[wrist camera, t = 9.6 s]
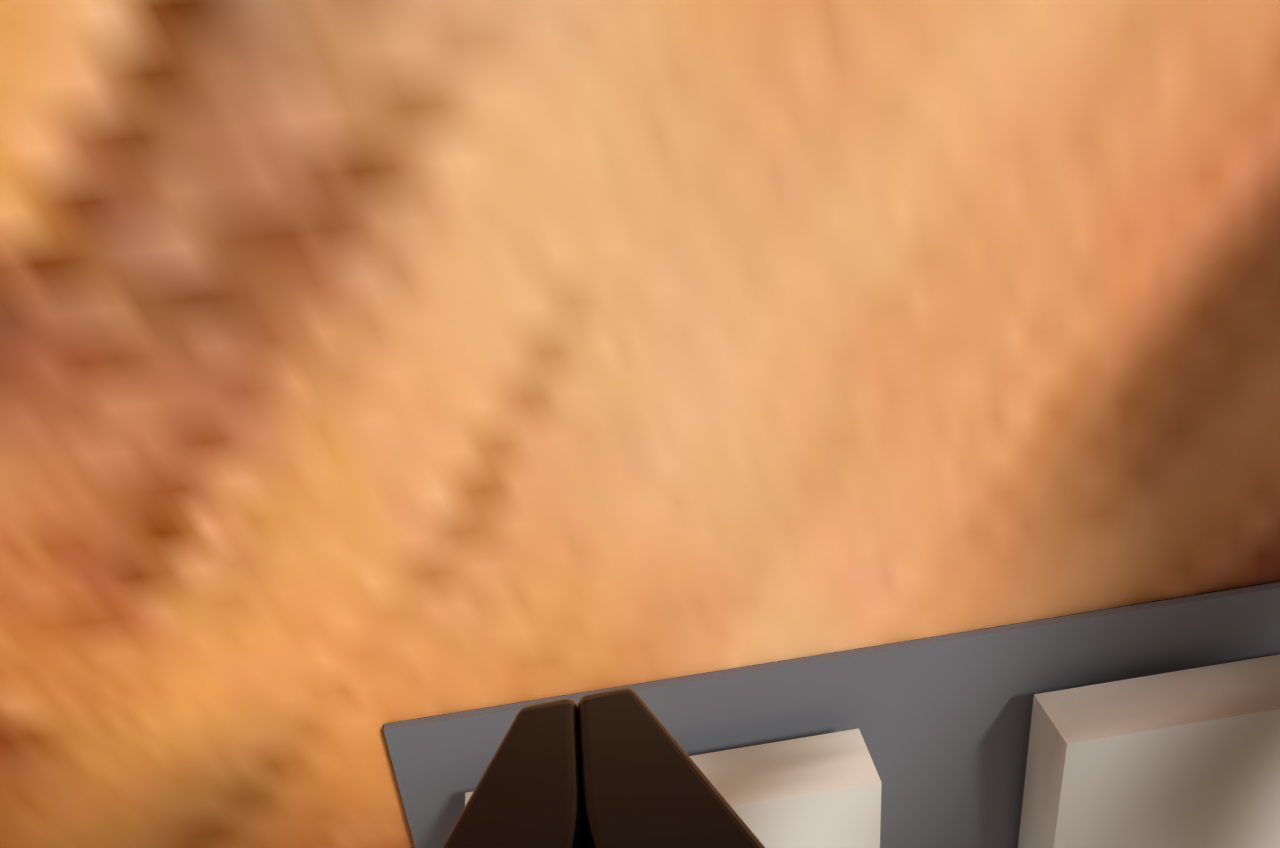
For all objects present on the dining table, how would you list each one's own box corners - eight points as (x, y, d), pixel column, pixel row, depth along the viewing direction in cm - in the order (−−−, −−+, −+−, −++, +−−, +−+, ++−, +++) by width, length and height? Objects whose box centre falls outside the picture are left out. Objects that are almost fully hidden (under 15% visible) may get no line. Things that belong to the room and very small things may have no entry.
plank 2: (1398, 634, 23) (1453, 679, 22) (1315, 901, 27) (1357, 952, 26) (1033, 694, 23) (1066, 744, 21) (1006, 956, 27) (1032, 1011, 25)
